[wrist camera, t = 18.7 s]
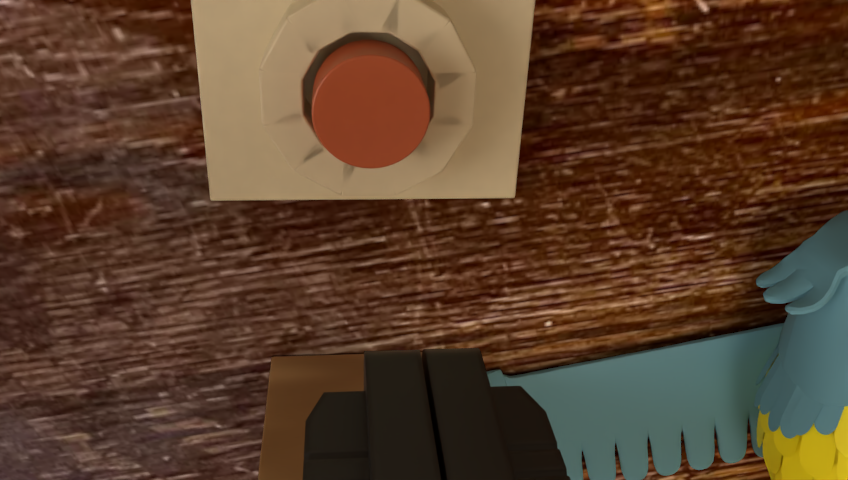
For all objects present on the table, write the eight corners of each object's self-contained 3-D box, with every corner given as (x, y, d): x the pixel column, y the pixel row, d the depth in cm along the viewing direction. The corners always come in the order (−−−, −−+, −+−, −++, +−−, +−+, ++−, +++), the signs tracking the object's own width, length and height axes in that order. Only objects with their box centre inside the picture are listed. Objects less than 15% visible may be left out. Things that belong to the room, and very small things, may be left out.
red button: (314, 146, 23) (313, 169, 21) (311, 38, 21) (309, 54, 20) (421, 147, 23) (428, 169, 22) (426, 39, 22) (433, 55, 20)
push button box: (214, 186, 26) (201, 226, 23) (191, -69, 22) (172, -56, 20) (508, 184, 27) (527, 223, 24) (532, -60, 23) (558, -46, 21)
